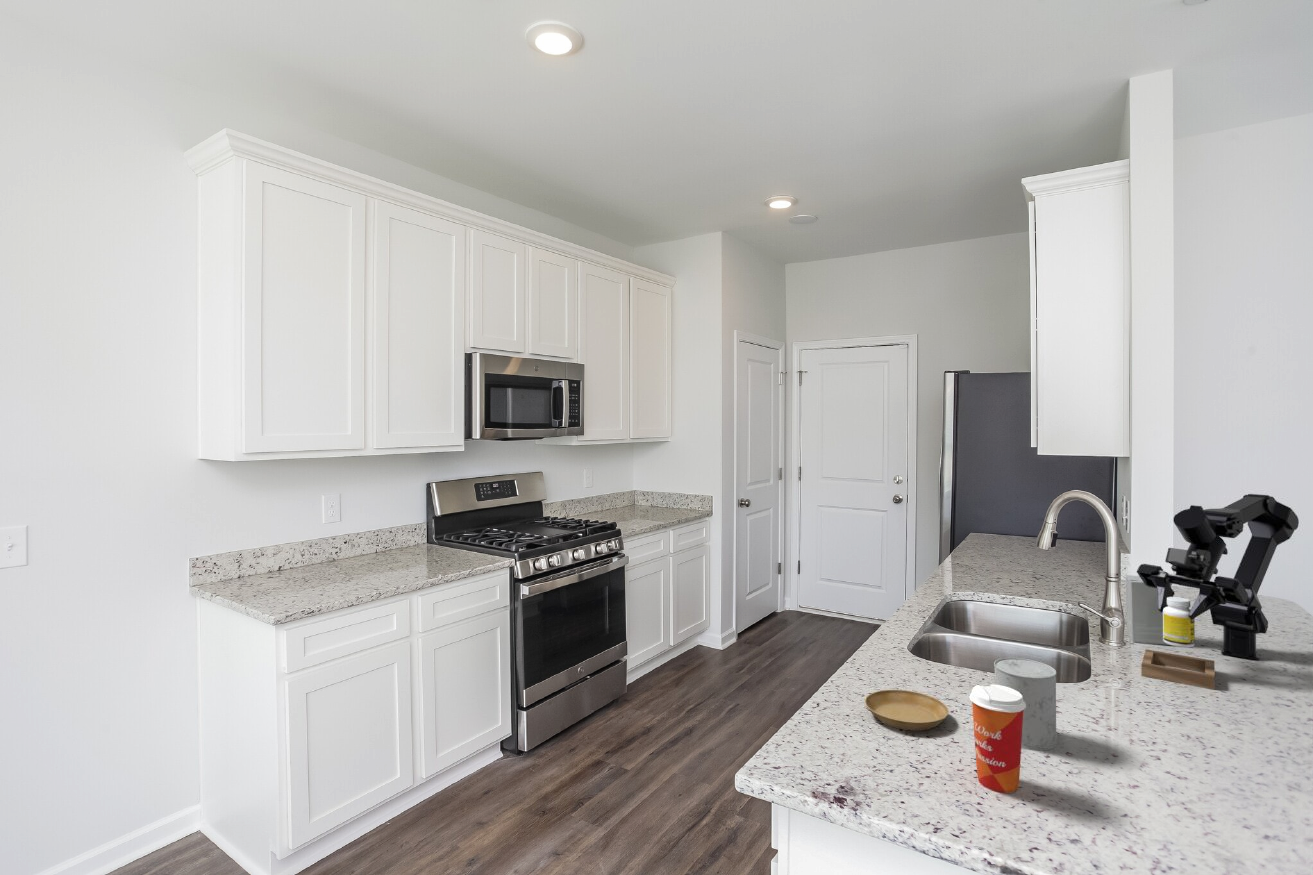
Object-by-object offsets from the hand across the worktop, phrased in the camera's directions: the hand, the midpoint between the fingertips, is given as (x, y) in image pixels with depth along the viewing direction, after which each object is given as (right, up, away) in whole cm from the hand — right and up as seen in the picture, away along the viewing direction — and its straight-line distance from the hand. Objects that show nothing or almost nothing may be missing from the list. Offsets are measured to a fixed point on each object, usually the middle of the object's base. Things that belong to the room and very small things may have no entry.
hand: (1174, 614), depth 141 cm
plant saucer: (-64, -15, -17) cm, 69 cm away
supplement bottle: (+1, -7, +1) cm, 7 cm away
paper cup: (-59, -15, -40) cm, 73 cm away
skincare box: (+11, -13, +22) cm, 28 cm away
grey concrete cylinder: (-47, -15, -26) cm, 55 cm away
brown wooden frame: (+1, -13, +1) cm, 13 cm away
